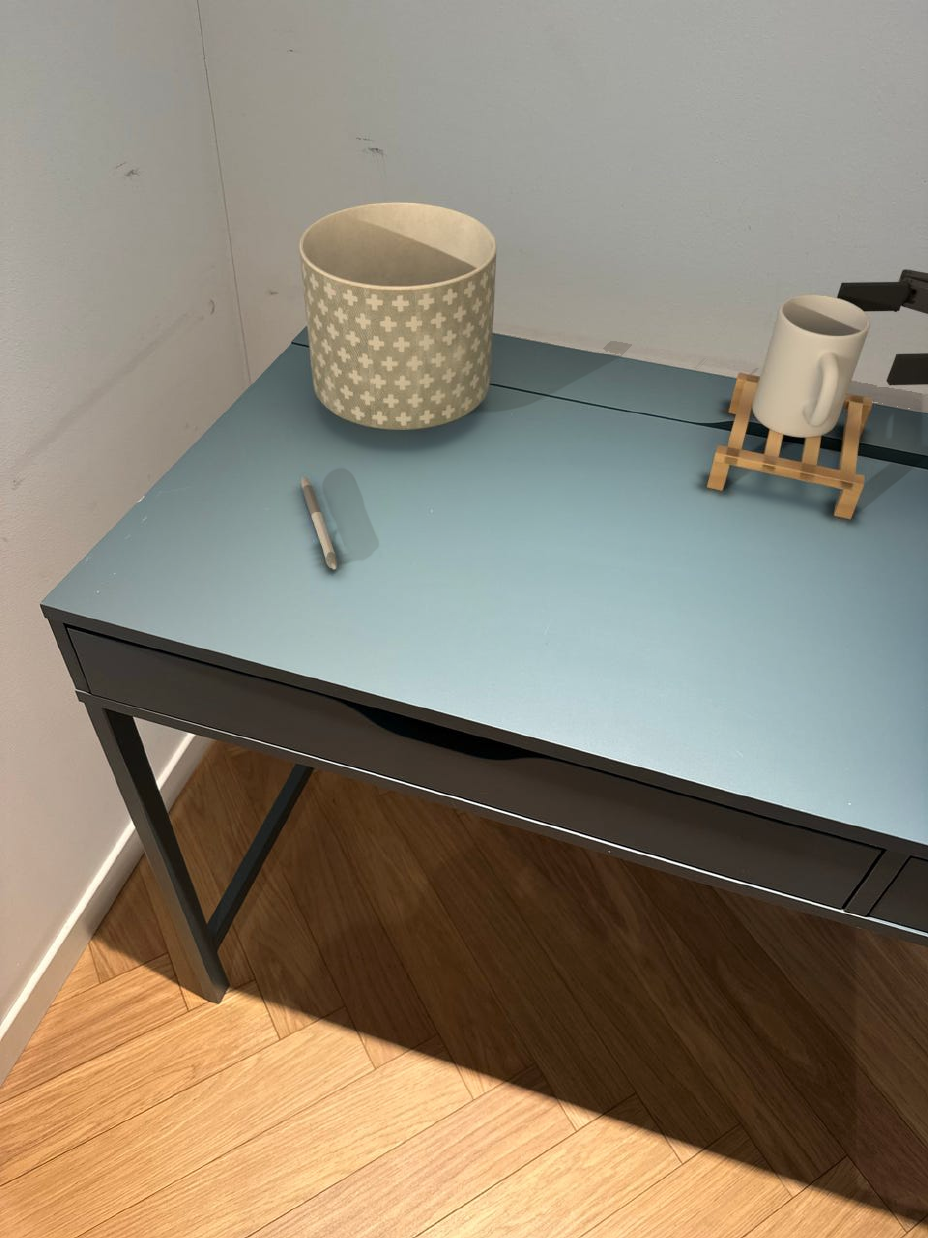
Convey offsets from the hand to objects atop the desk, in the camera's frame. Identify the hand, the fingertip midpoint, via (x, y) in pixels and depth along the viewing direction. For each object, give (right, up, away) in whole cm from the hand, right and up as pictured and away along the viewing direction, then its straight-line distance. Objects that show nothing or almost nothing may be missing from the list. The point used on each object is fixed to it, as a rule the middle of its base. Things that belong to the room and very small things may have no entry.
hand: (863, 331), depth 90 cm
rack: (-4, -10, +10) cm, 15 cm away
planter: (-44, -3, +16) cm, 47 cm away
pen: (-51, -18, +1) cm, 54 cm away
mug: (-4, -7, +7) cm, 11 cm away
